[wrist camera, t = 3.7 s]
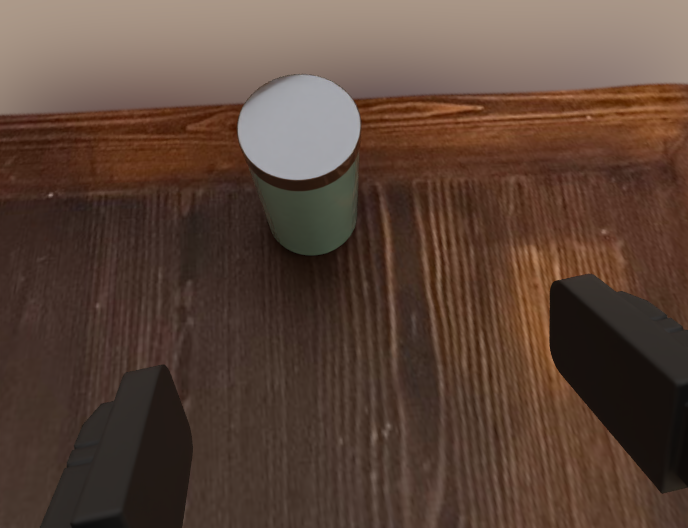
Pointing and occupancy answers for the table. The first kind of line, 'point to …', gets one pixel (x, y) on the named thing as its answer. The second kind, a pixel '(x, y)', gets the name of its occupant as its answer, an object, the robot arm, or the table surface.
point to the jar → (304, 160)
